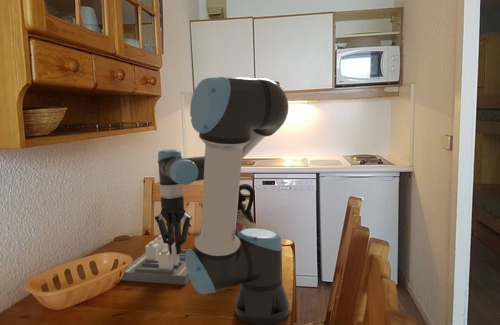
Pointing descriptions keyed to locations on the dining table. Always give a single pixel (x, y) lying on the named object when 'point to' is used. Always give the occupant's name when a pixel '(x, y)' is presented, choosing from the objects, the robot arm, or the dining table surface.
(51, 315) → the dining table surface
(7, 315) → the dining table surface
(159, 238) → the far breaker handle
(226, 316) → the dining table surface
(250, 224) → the ceramic jug
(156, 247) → the handle
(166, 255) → the block
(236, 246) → the robot arm
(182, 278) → the tray
